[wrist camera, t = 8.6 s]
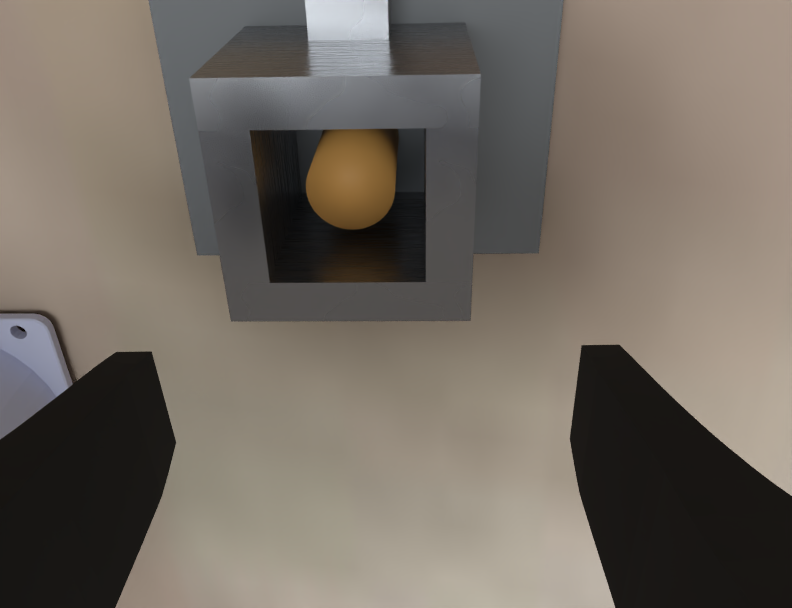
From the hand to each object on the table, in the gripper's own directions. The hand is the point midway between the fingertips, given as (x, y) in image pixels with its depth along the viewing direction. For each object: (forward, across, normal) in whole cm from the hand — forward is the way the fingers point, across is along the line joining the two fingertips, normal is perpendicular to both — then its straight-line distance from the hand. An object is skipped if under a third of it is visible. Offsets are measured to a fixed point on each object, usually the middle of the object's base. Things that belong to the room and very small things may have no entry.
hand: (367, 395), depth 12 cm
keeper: (+10, +1, -2) cm, 10 cm away
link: (+9, +1, -4) cm, 10 cm away
